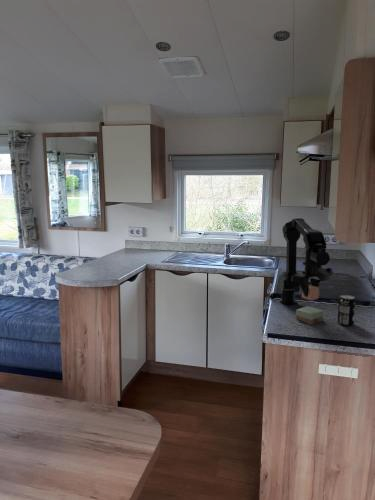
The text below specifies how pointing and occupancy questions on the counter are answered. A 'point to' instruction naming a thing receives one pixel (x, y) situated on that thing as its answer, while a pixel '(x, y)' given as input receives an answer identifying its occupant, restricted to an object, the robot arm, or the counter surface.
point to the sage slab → (309, 312)
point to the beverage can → (346, 310)
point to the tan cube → (312, 293)
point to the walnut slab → (309, 319)
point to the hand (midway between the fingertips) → (310, 295)
